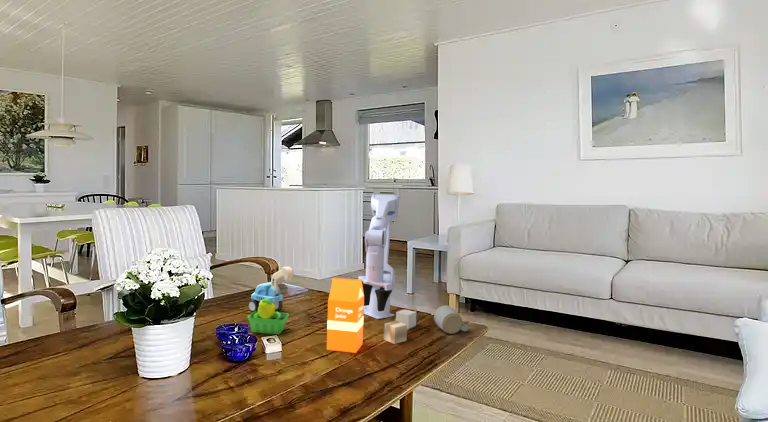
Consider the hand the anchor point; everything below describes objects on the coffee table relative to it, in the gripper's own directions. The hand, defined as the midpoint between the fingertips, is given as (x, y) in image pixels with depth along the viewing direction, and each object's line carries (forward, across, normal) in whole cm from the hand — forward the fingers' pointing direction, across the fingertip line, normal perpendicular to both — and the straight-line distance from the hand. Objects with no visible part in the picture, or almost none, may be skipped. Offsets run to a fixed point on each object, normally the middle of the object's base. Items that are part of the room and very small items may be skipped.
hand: (373, 308), depth 152 cm
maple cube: (+5, +8, 0) cm, 10 cm away
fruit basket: (+8, -18, -28) cm, 34 cm away
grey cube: (+8, +3, +12) cm, 14 cm away
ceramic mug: (+8, +15, +22) cm, 27 cm away
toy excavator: (+8, -37, -17) cm, 42 cm away
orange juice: (+8, +7, -16) cm, 19 cm away
